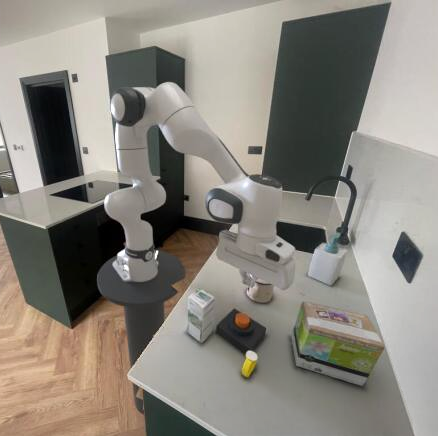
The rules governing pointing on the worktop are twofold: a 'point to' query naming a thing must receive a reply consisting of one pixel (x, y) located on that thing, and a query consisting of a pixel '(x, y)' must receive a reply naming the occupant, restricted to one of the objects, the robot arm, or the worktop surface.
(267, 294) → the teacup with lid
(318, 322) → the tea box
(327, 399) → the worktop surface
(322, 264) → the soap bottle
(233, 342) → the button base
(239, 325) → the orange button cap
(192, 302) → the syrup box
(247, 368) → the yellow chunky piece
